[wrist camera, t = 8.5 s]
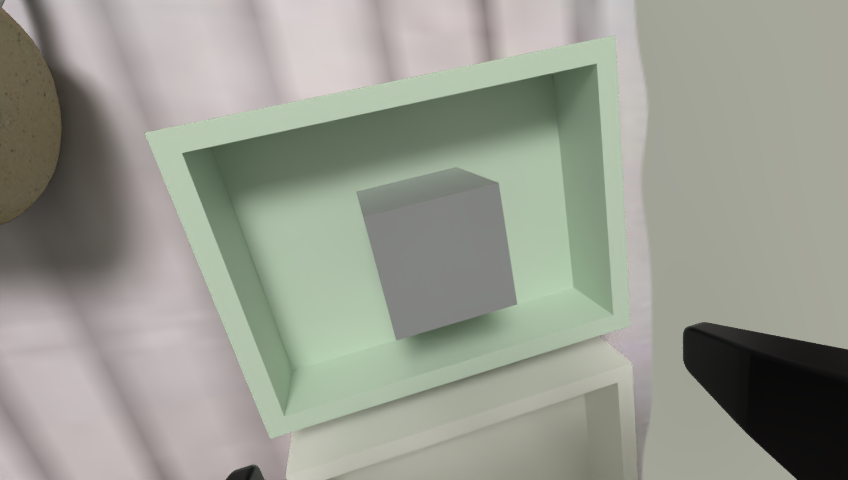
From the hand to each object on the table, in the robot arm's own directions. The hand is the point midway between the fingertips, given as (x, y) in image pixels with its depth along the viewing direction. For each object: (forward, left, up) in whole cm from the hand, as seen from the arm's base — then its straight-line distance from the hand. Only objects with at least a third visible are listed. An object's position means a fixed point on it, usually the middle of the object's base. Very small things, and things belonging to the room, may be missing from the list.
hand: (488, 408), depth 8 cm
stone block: (+1, -1, -11) cm, 11 cm away
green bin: (+1, -1, -12) cm, 12 cm away
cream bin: (-13, -1, -12) cm, 18 cm away
